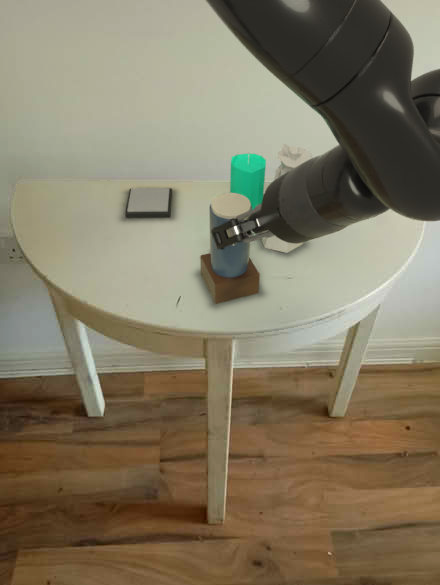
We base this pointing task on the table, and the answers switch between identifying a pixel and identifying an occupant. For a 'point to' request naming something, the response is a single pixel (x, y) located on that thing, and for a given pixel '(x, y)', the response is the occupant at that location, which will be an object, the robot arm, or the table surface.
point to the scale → (149, 203)
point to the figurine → (291, 160)
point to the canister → (232, 257)
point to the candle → (248, 177)
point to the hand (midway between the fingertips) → (248, 229)
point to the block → (229, 282)
